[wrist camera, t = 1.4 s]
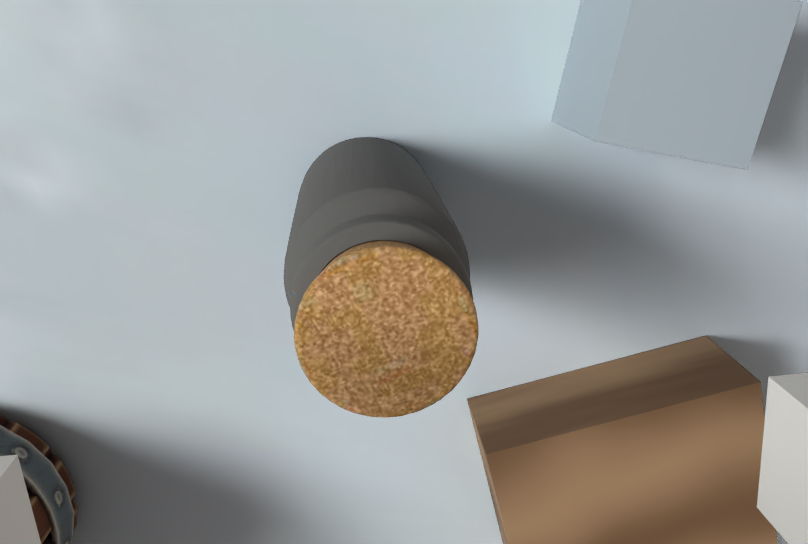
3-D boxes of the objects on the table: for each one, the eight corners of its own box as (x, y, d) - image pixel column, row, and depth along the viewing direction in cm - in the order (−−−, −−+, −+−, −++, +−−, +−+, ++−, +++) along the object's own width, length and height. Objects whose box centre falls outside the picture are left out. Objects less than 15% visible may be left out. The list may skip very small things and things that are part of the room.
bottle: (427, 129, 33) (496, 213, 18) (435, 259, 35) (504, 425, 20) (290, 141, 32) (254, 236, 18) (307, 272, 34) (285, 450, 20)
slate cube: (586, -25, 31) (641, -35, 26) (720, 5, 32) (802, 2, 26) (550, 120, 33) (594, 141, 27) (678, 145, 34) (747, 170, 28)
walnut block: (467, 399, 37) (486, 454, 32) (706, 335, 37) (760, 381, 32) (515, 591, 41) (538, 666, 36) (731, 534, 41) (783, 601, 36)
